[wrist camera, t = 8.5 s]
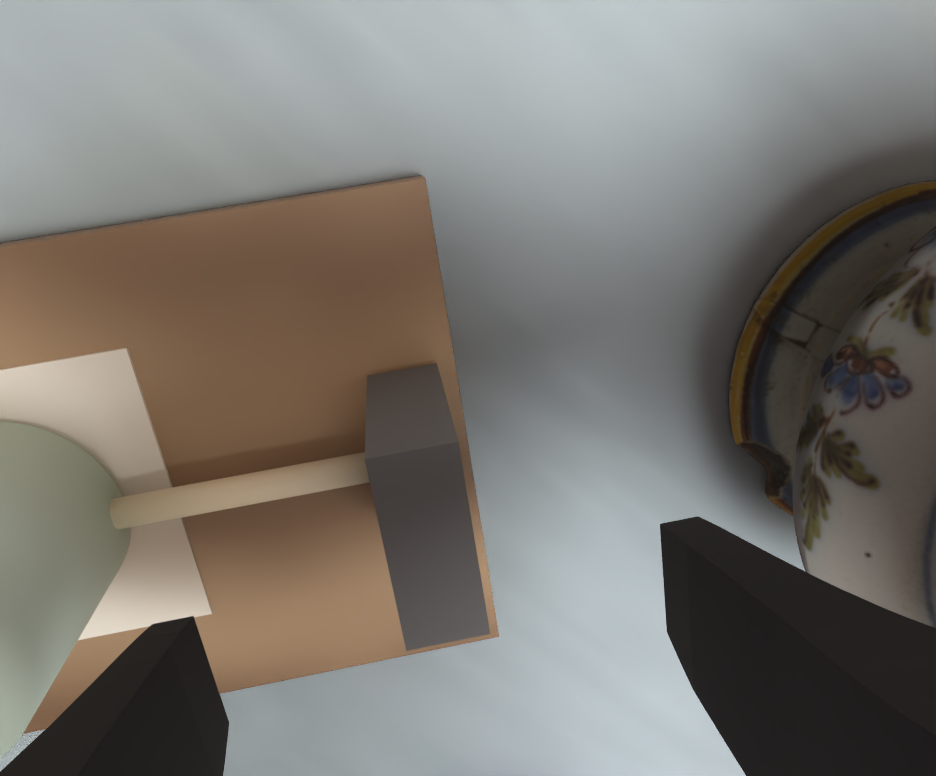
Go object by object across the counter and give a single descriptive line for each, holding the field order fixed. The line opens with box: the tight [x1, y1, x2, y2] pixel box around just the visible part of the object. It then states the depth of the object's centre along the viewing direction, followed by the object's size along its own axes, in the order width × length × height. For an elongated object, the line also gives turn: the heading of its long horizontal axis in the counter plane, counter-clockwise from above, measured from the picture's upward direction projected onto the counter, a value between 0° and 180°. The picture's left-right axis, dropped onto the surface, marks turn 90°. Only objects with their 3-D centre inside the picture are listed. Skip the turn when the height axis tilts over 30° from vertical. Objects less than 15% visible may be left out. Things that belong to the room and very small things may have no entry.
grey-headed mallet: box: [0, 363, 490, 759], centre depth 14 cm, size 5×13×5 cm, turn 99°
